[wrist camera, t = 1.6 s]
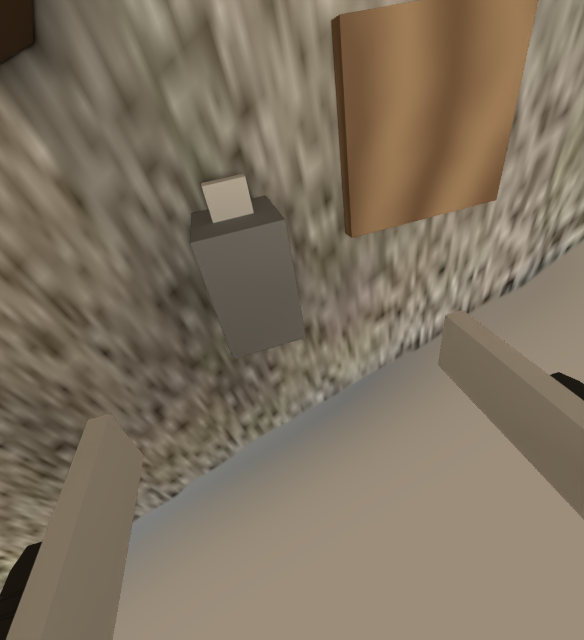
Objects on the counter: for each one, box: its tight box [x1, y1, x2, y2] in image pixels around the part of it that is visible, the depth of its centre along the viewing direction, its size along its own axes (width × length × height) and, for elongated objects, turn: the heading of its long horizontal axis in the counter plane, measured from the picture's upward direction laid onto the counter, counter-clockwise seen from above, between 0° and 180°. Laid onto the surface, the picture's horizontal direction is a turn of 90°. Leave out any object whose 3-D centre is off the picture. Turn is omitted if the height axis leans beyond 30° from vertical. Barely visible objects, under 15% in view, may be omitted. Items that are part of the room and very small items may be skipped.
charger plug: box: [190, 174, 306, 359], centre depth 20 cm, size 5×10×6 cm, turn 10°
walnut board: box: [331, 0, 538, 238], centre depth 21 cm, size 12×12×1 cm
